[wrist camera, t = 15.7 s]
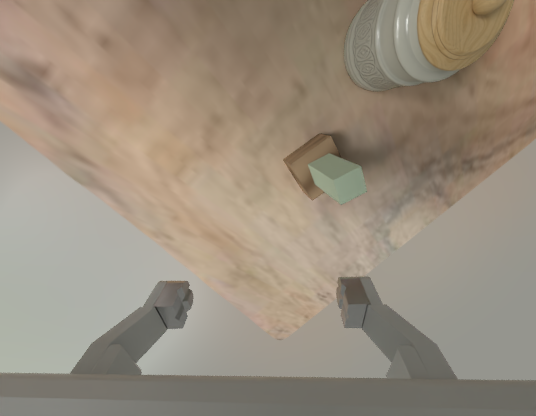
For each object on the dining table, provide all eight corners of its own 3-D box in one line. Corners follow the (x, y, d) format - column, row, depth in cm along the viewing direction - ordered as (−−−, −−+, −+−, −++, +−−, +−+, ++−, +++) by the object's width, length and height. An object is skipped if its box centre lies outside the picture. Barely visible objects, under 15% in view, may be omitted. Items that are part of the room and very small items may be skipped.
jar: (385, 105, 39) (498, 96, 23) (327, 70, 35) (415, 30, 19) (428, 24, 35) (600, -54, 19) (368, -25, 31) (523, -177, 15)
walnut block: (282, 159, 39) (290, 164, 35) (318, 133, 39) (330, 135, 34) (303, 191, 43) (312, 200, 38) (336, 168, 42) (349, 174, 38)
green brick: (314, 184, 37) (341, 204, 29) (307, 164, 35) (333, 180, 27) (335, 173, 37) (367, 191, 29) (329, 153, 35) (361, 166, 27)
